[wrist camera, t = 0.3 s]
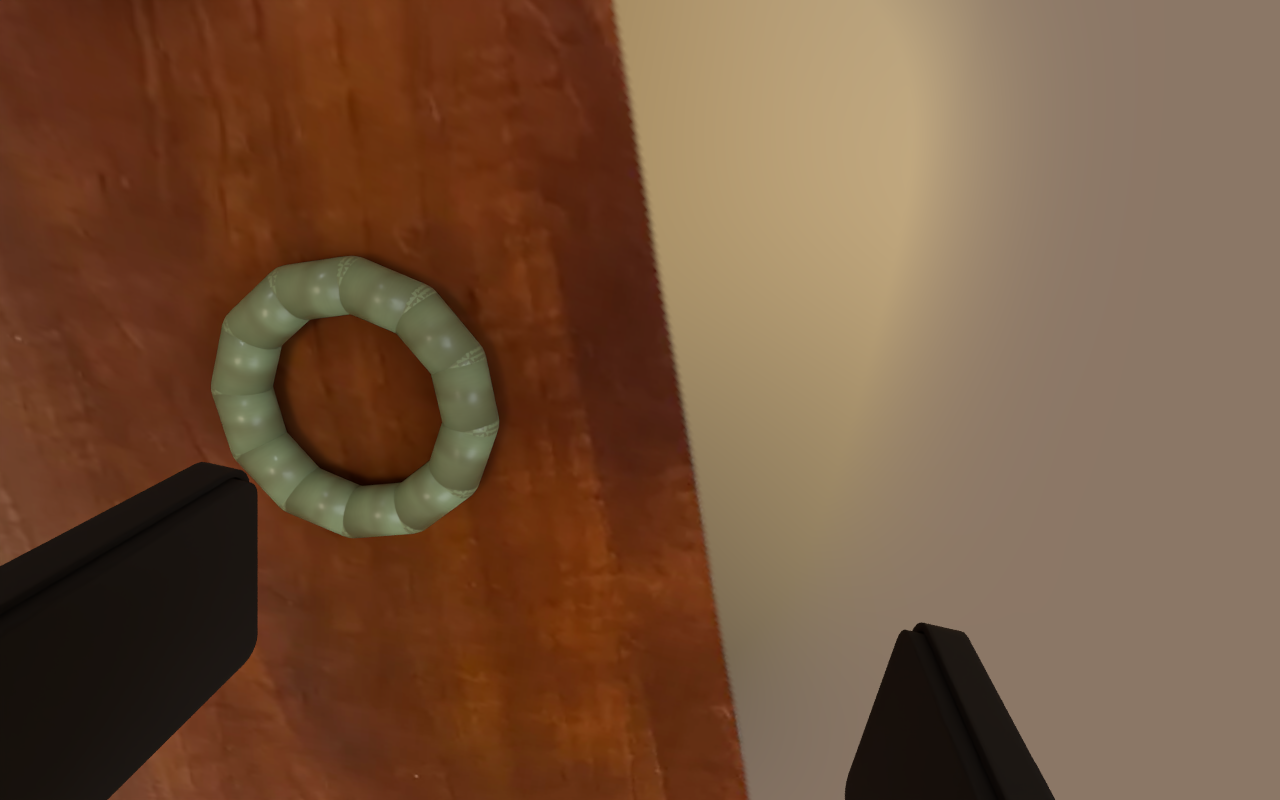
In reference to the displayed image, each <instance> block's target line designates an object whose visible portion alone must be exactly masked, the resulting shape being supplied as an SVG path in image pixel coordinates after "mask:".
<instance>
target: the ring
mask: <svg viewBox="0 0 1280 800" xmlns="http://www.w3.org/2000/svg"><path fill="white" fill-rule="evenodd" d="M348 314H351V315H354V316H356V317H359V318H361V319H363V320H366V321H368V322H371V323H373V324H375V325H378V326H380V327H382V328H385V329H387V330H390V331H392V332H394V333H396V334H397V335H398V336H399V337H400V338H401V339H402V341H403V342H404V343H405V344H406V345H407V346H408V348H409V349H410V350H411V351H412V352H413V353H414V355H415V356H416V357H417V358H418V359H419V361H420V362H421V363H422V364H423V365H424V366H425V368H426V369H427V370H428V371H429V372H430V373H431V376H432V380H433V384H434V389H435V393H436V397H437V401H438V406H439V410H440V414H441V418H442V424H441V427H440V430H439V434H438V437H437V440H436V443H435V446H434V449H433V452H432V455H431V459H430V461H429V462H427V463H426V464H425V465H423V466H422V467H421V468H420V469H418V470H417V471H416V472H414V473H413V474H412V475H411V476H409V477H408V478H407V479H405V480H404V481H403V482H401V483H390V484H379V485H368V486H361V485H359V484H356V483H354V482H351V481H349V480H347V479H344V478H342V477H339V476H337V475H335V474H332V473H330V472H328V471H325V470H323V469H320V468H319V467H318V466H317V465H316V463H315V462H314V461H313V460H312V459H311V458H310V457H309V456H308V455H307V454H306V452H305V451H304V450H303V449H302V448H301V447H300V446H299V445H298V444H297V443H296V442H295V440H294V439H293V438H292V437H291V436H290V435H289V434H288V433H287V431H286V428H285V425H284V421H283V418H282V415H281V411H280V408H279V405H278V402H277V398H276V395H275V392H274V388H273V384H274V379H275V375H276V370H277V366H278V361H279V357H280V352H281V348H282V345H283V344H284V343H285V342H286V341H287V340H288V339H289V338H290V337H292V336H293V335H294V334H295V333H296V332H297V331H298V330H299V329H300V328H301V327H302V326H304V325H305V324H306V323H307V322H308V321H309V320H310V319H318V318H326V317H333V316H341V315H348ZM211 391H212V395H213V398H214V401H215V404H216V407H217V410H218V413H219V416H220V419H221V423H222V426H223V429H224V432H225V435H226V438H227V441H228V444H229V447H230V450H231V453H232V455H233V457H234V458H235V460H236V461H237V462H238V463H239V464H240V465H241V466H242V467H243V468H244V470H245V471H246V472H247V473H248V474H249V475H250V476H251V477H252V478H253V479H254V480H255V481H256V482H257V483H258V484H259V486H260V487H261V488H262V489H263V490H264V491H265V492H266V493H267V494H268V495H269V496H270V497H271V498H272V499H273V501H274V502H275V503H276V504H277V505H278V506H279V507H280V508H281V509H282V510H284V511H286V512H288V513H290V514H292V515H295V516H297V517H299V518H302V519H304V520H307V521H309V522H311V523H314V524H316V525H318V526H321V527H323V528H326V529H328V530H330V531H333V532H335V533H338V534H340V535H342V536H345V537H349V538H363V537H376V536H389V535H402V534H414V533H418V532H421V531H423V530H425V529H426V528H428V527H429V526H431V525H432V524H433V523H435V522H436V521H437V520H439V519H440V518H442V517H443V516H444V515H446V514H447V513H448V512H450V511H451V510H452V509H454V508H455V507H456V506H458V505H459V504H461V503H462V502H463V501H465V500H466V499H467V498H469V497H470V496H471V495H472V494H473V493H474V492H475V491H476V489H477V488H478V486H479V483H480V480H481V477H482V475H483V472H484V469H485V466H486V463H487V460H488V458H489V455H490V452H491V449H492V446H493V443H494V441H495V438H496V435H497V432H498V429H499V416H498V411H497V407H496V402H495V397H494V392H493V388H492V383H491V378H490V373H489V369H488V364H487V359H486V355H485V352H484V350H483V348H482V346H481V345H480V344H479V342H478V341H477V340H476V339H475V338H474V336H473V335H472V334H471V333H470V332H469V330H468V329H467V328H466V327H465V326H464V324H463V323H462V322H461V321H460V320H459V318H458V317H457V316H456V315H455V313H454V312H453V311H452V310H451V309H450V307H449V306H448V305H447V304H446V303H445V301H444V300H443V299H442V298H441V297H440V295H439V294H438V293H437V292H436V291H435V290H434V289H433V288H432V287H430V286H428V285H426V284H424V283H422V282H419V281H417V280H415V279H412V278H410V277H408V276H405V275H403V274H400V273H398V272H396V271H393V270H391V269H388V268H386V267H384V266H381V265H379V264H377V263H374V262H372V261H369V260H367V259H365V258H362V257H358V256H344V257H337V258H330V259H323V260H317V261H310V262H303V263H296V264H289V265H284V266H281V267H278V268H276V269H274V270H273V271H272V272H270V273H269V274H268V275H267V276H266V277H265V278H264V279H263V280H262V281H261V282H260V283H259V284H258V285H257V286H256V287H255V288H254V289H253V290H252V291H251V292H250V293H249V294H248V295H247V296H246V297H245V298H244V299H243V300H242V301H241V302H240V303H238V304H237V305H236V306H235V307H234V308H233V309H232V310H231V311H230V312H229V313H228V314H227V316H226V317H225V319H224V321H223V324H222V329H221V335H220V340H219V345H218V350H217V355H216V360H215V366H214V371H213V376H212V381H211Z"/></svg>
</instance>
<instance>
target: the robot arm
mask: <svg viewBox="0 0 1280 800" xmlns="http://www.w3.org/2000/svg"><path fill="white" fill-rule="evenodd" d="M256 641H257V489H256V487H255V485H254V484H252V483H250V482H249V478H248V476H247V474H246V473H245V472H243V471H242V470H238V469H234V468H229V467H225V466H220V465H216V464H211V463H206V462H200V463H197V464H194V465H192V466H190V467H189V468H187V469H185V470H183V471H181V472H179V473H177V474H175V475H173V476H171V477H169V478H168V479H166V480H164V481H162V482H160V483H158V484H156V485H154V486H152V487H150V488H149V489H147V490H145V491H143V492H141V493H139V494H137V495H135V496H133V497H131V498H130V499H128V500H126V501H124V502H122V503H120V504H118V505H116V506H114V507H112V508H110V509H109V510H107V511H105V512H103V513H101V514H99V515H97V516H95V517H93V518H91V519H90V520H88V521H86V522H84V523H82V524H80V525H78V526H76V527H74V528H72V529H71V530H69V531H67V532H65V533H63V534H61V535H59V536H57V537H55V538H53V539H51V540H50V541H48V542H46V543H44V544H42V545H40V546H38V547H36V548H34V549H32V550H31V551H29V552H27V553H25V554H23V555H21V556H19V557H17V558H15V559H13V560H11V561H10V562H8V563H6V564H4V565H2V566H0V800H107V799H108V798H110V797H111V796H112V795H113V794H114V793H115V792H116V791H117V790H118V789H119V788H120V787H121V786H122V785H123V784H124V783H125V782H126V781H127V780H128V779H129V778H130V777H131V776H132V775H133V774H134V773H135V772H136V771H137V770H138V769H139V768H140V767H141V766H142V765H143V764H144V763H145V762H146V761H147V760H148V759H149V758H150V757H151V756H152V755H153V754H154V753H155V752H156V751H157V750H158V749H159V748H160V747H161V746H162V745H163V744H164V743H165V742H166V741H167V740H168V739H169V738H170V737H171V736H172V735H173V734H174V733H175V732H176V731H177V730H178V729H179V728H180V727H181V726H182V725H183V724H184V723H185V722H186V721H187V720H188V719H189V718H190V717H191V716H192V715H193V714H194V713H195V712H196V711H197V710H198V709H199V708H200V707H201V706H202V705H203V704H204V703H205V702H206V701H207V700H208V699H209V698H210V697H211V696H212V695H213V694H214V693H215V692H216V691H217V690H218V689H219V688H220V687H221V686H222V685H223V684H224V683H225V682H226V681H227V680H228V679H229V678H230V677H231V676H232V675H233V674H234V673H235V672H236V671H237V670H238V669H239V668H240V667H241V666H242V665H243V664H244V663H245V662H246V661H247V660H248V659H249V657H250V655H251V654H252V652H253V650H254V647H255V645H256ZM845 800H1055V798H1054V797H1053V795H1052V793H1051V791H1050V789H1049V787H1048V785H1047V783H1046V781H1045V780H1044V778H1043V776H1042V774H1041V772H1040V770H1039V768H1038V766H1037V765H1036V763H1035V762H1034V760H1033V758H1032V757H1031V754H1030V753H1029V751H1028V749H1027V747H1026V745H1025V743H1024V741H1023V739H1022V738H1021V736H1020V734H1019V732H1018V730H1017V728H1016V726H1015V725H1014V723H1013V721H1012V719H1011V717H1010V715H1009V713H1008V711H1007V709H1006V708H1005V706H1004V704H1003V702H1002V700H1001V698H1000V696H999V695H998V693H997V691H996V689H995V687H994V685H993V683H992V681H991V679H990V678H989V676H988V674H987V672H986V670H985V668H984V666H983V664H982V663H981V661H980V659H979V657H978V655H977V653H976V651H975V649H974V648H973V646H972V644H971V642H970V640H969V638H968V637H967V635H966V634H965V633H964V632H961V631H957V630H953V629H949V628H944V627H940V626H935V625H931V624H926V623H918V624H917V625H916V626H915V627H914V629H913V631H908V630H903V631H901V633H900V634H899V636H898V638H897V641H896V643H895V646H894V649H893V652H892V654H891V657H890V660H889V663H888V666H887V668H886V671H885V674H884V677H883V680H882V683H881V685H880V688H879V691H878V693H877V696H876V699H875V702H874V705H873V707H872V710H871V713H870V716H869V719H868V722H867V724H866V727H865V730H864V733H863V736H862V738H861V741H860V744H859V746H858V749H857V752H856V755H855V758H854V760H853V763H852V766H851V769H850V771H849V774H848V778H847V782H846V788H845Z"/></svg>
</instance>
